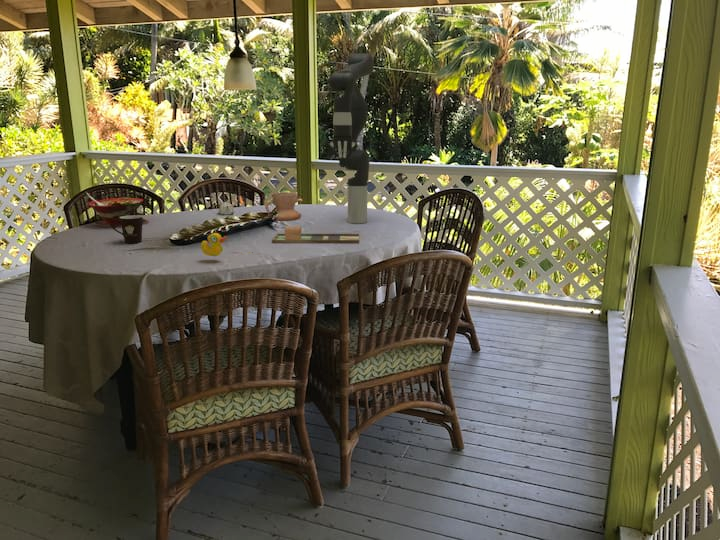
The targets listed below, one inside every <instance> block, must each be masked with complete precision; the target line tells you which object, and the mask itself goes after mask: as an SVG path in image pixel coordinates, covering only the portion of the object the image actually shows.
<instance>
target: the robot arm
mask: <svg viewBox="0 0 720 540" xmlns="http://www.w3.org/2000/svg"><path fill="white" fill-rule="evenodd" d="M373 70H374V57H373V56H372V55H371V54H370V53H368V52H367V53H365V52H363V53H362V52H361V53H354V52H353V53H349V55H348V58H347V65H346V66H345V67H344V68H343V69H340V70H337V71H334V72H332V73H331V74H330V76H329V79H328V85H329V88H330V89H331V90H333V91H334V92H344V94H343V95H342V96H338V97H335V98H334V99H333V118H332V119H333V120H332V124H333V128H332V129H333V132H332V133H333V137H332V140H331V141H330V143H328V144H327V148H328V149H329V150H330V151H331V152H332V154H333V155H334V157H337V158H338V160H339V161H338V165H339V167H341V168H345V170H347V171H356V174H355V176H353V177H350V178H348V179H347V223H350V224H366V223H367V222H368V181H369V173H370V155H369V153H368V151H367V150H361V149H357V148H358V147H359V146H358V144H357V140H358V138H359V136H360V134H361V133H362V131H363V129H364V127H366V126H365V125H366V124H367V121H368V103H367V101H366V100H365V97H364V95H363V94H362V92H361V91H360V88H359V86H358V82H357V81H358V80H359V79H361V78H363V77H365V76H369V75H371V74H372V73H373ZM334 147H335V148H336V149H337V150H338V152H337V151H336V150H335V149H334Z"/></svg>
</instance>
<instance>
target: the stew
mask: <svg viewBox="0 0 720 540" xmlns="http://www.w3.org/2000/svg"><path fill="white" fill-rule="evenodd" d="M85 193H86V194H87V197H88V198H89V199H90V200H91V201H90V202H88V206H89V207H90V208H91V209H93V211H94V212H96V213H97V214H98V216H99V217H100V218H101V219H102V220H99V221H95V222H93V224H94V225H95V226H99V227H111V222H112V221H114V220H118V221H120V218H119V217H122V216H129V215H135V212H136V211H137V210H138V209H140V206H141V205H143V204H142V203H144V198H136V197H135V198H134V197H130V196H129V197H127V196H125V197H124V196H123V197H118V198H116V197H114V198H104V199H100V200H96V199H94V197H92V196H91V195H90V193H88V192H87V191H85ZM141 216H142V217H143V216H144V214H141ZM102 221H104V222H105V223H106V224H100V223H102ZM148 223H149V220H148V219H145V218H142V225H147V224H148ZM112 226H113V227H114V228H115V229H116V227H117V228H118V227H121V225H120V223H119V222H113V224H112Z"/></svg>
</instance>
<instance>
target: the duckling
mask: <svg viewBox="0 0 720 540" xmlns="http://www.w3.org/2000/svg"><path fill="white" fill-rule="evenodd" d="M226 241H227V236H226V235H225V236H224V237H222V235H221V234H220V233H218V232H212V233H211V234H210V235H208V236H207V240H202V241H201V244H200V246H201V247H200V249H201V251H202V253H203V254H204V255H207V256H209V257H217V256H219V255H221V254H222V252H223V251H224V248H223V245H222V244H223V243H225V242H226ZM208 242H209V243H208ZM221 243H222V244H221ZM209 244H210V245H209Z"/></svg>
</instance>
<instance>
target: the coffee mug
mask: <svg viewBox="0 0 720 540" xmlns="http://www.w3.org/2000/svg"><path fill="white" fill-rule="evenodd" d="M119 218H120V221H118V220H114V221H112V222H111V226H110V227H111V228H112V229H113V230H114V231H115V232H117V233H119V234H121V235H122V236H123V241H124V243H126V244H136V243H141V242H142V241H143V224H142V219H143V216H142V215H137V214H136V215H135V214H133V215H129V216H122V217H119ZM113 222H119V223H120V227H121V230H122V231H120V230H117V229H116V227H115V228H114V227H113V226H112V224H113Z"/></svg>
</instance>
